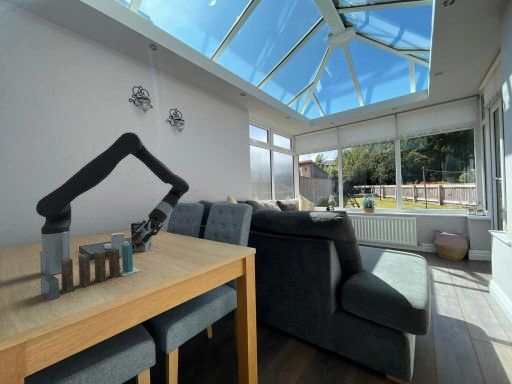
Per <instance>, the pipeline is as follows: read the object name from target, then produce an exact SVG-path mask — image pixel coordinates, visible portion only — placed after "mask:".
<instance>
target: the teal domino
mask: <svg viewBox="0 0 512 384" xmlns="http://www.w3.org/2000/svg"><path fill="white" fill-rule="evenodd" d="M121 259H122V264H121V266H122V268H121V269H122V270H123V271H125V272H128V273H129V272H132V271H133V268H134V266H133V265H134V264H133V262H134V261H133V251H132V244H128V243H124V245H122V256H121Z"/></svg>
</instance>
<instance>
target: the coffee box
mask: <svg viewBox="0 0 512 384" xmlns="http://www.w3.org/2000/svg"><path fill="white" fill-rule="evenodd" d="M141 223H142V221H138V222H132V223H130V235H131V236H130V237H131V239H130V241H131V245H132V247H133V248H132V252H148V251H150V250H152V249H153V238H152V237H153V236H151V237H150V239H149V240H148V241H147V243H143V242H142V241H141V240H142V239H143V238H144V236H145V235H146V234H148V231H147V232H144V233H142V234H141V235H140V237H139V238H138V239H137V240H136V241H133V240H132V237H133V236H134V235H135V233H136V230H135V229H136V228H137V227H138V226H139V225H140V224H141ZM142 231H143V230H142ZM142 231H141V232H142Z"/></svg>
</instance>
